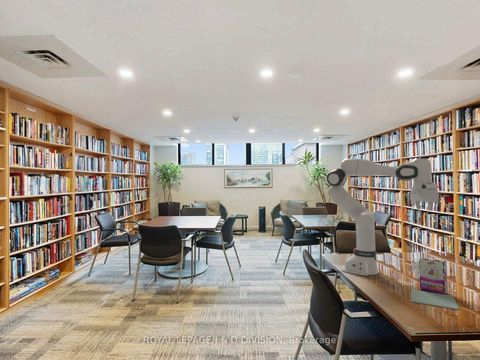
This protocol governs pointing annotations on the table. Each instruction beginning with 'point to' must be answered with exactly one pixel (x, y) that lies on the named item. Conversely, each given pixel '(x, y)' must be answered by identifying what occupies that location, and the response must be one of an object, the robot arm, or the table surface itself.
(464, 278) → the table surface
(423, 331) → the table surface
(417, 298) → the desk pad
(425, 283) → the candy bar box
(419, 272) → the white figurine
